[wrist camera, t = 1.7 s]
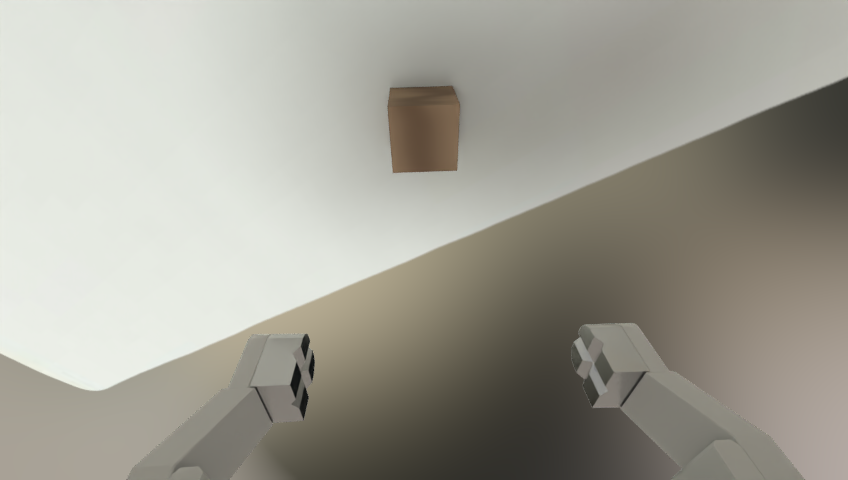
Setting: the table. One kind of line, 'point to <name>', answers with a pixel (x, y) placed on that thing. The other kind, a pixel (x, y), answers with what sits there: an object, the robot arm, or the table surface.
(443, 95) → the walnut cube
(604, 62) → the table surface
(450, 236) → the table surface
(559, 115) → the table surface
